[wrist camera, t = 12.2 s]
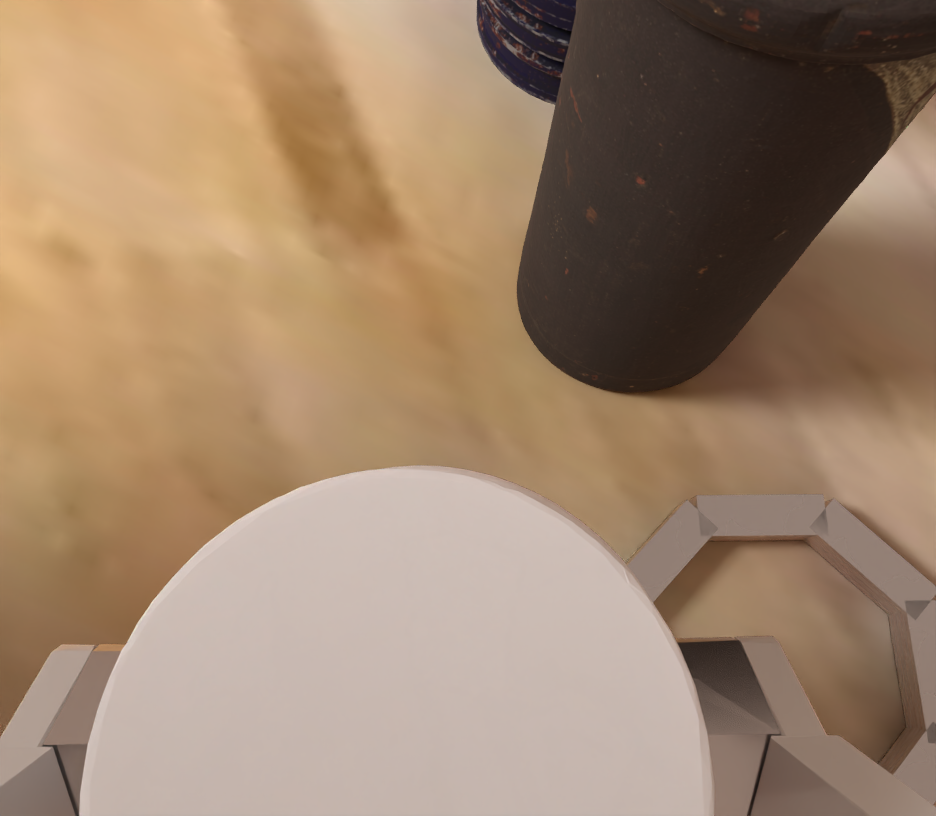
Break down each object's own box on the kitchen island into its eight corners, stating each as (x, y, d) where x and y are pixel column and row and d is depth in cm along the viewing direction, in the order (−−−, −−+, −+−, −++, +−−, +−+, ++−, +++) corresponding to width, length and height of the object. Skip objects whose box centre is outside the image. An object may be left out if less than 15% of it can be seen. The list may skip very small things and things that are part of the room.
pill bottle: (522, 510, 18) (631, 285, 7) (632, 803, 16) (990, 1082, 5) (243, 608, 17) (-102, 519, 6) (328, 926, 15) (50, 1525, 5)
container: (766, 384, 30) (1292, -79, 11) (531, 422, 30) (670, -1, 11) (707, 185, 33) (1057, -467, 14) (490, 216, 32) (543, -421, 13)
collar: (800, 952, 25) (816, 965, 24) (524, 674, 27) (528, 675, 26) (1007, 668, 28) (1031, 668, 26) (740, 436, 30) (751, 427, 29)
